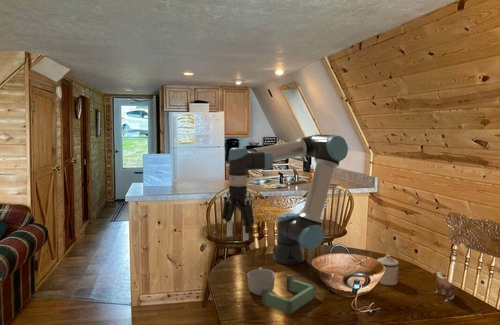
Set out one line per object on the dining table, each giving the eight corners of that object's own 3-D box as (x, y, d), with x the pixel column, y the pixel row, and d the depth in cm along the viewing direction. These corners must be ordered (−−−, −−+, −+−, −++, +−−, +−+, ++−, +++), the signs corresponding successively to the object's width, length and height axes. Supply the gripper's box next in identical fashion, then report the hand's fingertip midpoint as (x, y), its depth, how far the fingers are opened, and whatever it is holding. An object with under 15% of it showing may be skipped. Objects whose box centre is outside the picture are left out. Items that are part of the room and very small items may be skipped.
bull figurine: (441, 289, 160) (442, 270, 159) (456, 304, 146) (458, 283, 146) (430, 288, 160) (431, 269, 159) (444, 303, 147) (446, 283, 146)
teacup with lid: (400, 286, 162) (401, 259, 161) (378, 285, 163) (379, 258, 162) (393, 275, 174) (395, 250, 173) (372, 274, 175) (374, 249, 174)
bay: (288, 288, 159) (288, 274, 158) (315, 297, 151) (315, 282, 150) (261, 303, 145) (262, 288, 144) (289, 314, 137) (290, 298, 137)
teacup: (272, 299, 149) (272, 279, 148) (244, 296, 151) (244, 277, 150) (276, 285, 162) (277, 266, 161) (251, 282, 164) (251, 264, 164)
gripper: (213, 183, 164) (213, 235, 166) (251, 188, 151) (251, 245, 153) (225, 181, 170) (225, 231, 172) (263, 186, 157) (262, 241, 159)
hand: (237, 238), depth 163 cm, fingers open, 8 cm apart
